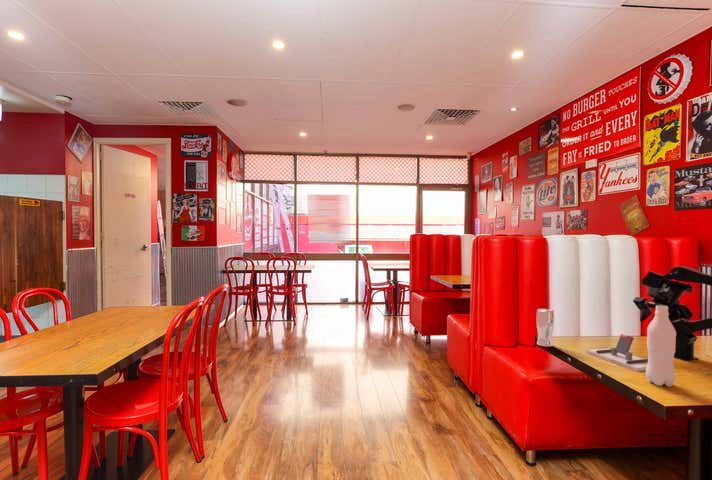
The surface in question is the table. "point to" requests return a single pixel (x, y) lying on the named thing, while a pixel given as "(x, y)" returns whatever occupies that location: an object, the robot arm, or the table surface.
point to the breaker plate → (620, 358)
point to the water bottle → (661, 348)
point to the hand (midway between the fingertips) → (649, 323)
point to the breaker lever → (624, 344)
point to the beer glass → (545, 327)
